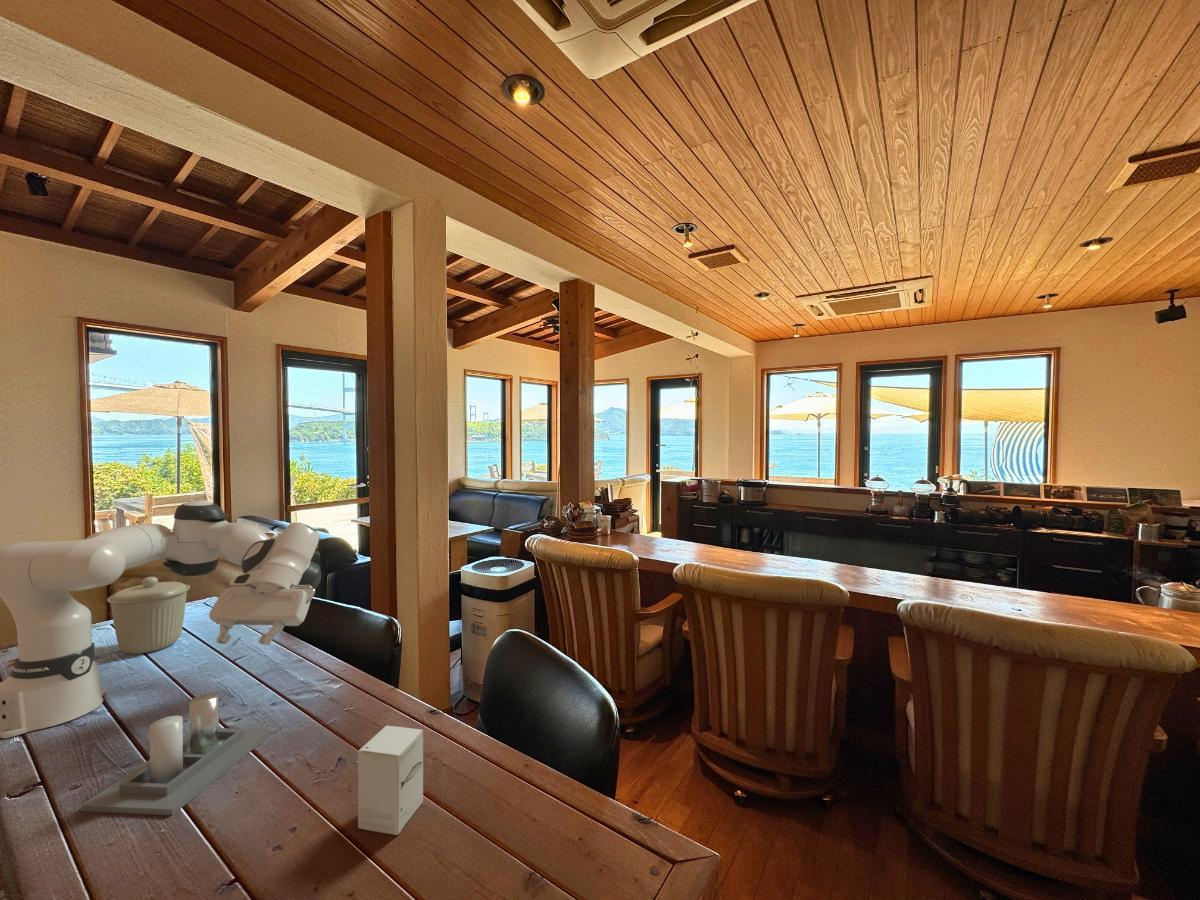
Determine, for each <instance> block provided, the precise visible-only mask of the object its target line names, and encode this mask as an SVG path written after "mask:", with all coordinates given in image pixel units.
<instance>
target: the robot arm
mask: <svg viewBox="0 0 1200 900" xmlns="http://www.w3.org/2000/svg"><path fill="white" fill-rule="evenodd" d="M228 517H229V513H228V512H227V513H225V512H224V510H223V509H222V507H220V506H219V505H218V504H216V503H214V502H211V501H208V500H201V499H200V500H192V501H189V502H185V503H182V504H179V505H178V506H177V507H176V509H175V512H174V515H173V519H174V521H173V526H172V530H171V529H170V528H168V527H167V526H166V525H163V524H159V523H140V524H139V523H137V524H131V525H125V526H120V527H116V528H115V527H114V528H111V529H105V530H102V531H101V530H100V531H96V532H95V533H92V534H90V535H88V537H86V538H84V539H75V540H74V539H73V540H72V539H71V540H56V541H54V540H50V541H47V540H45V541H41V540H40V541H22V542H17V543H11V544H5V545H2V546H0V599H1V600H2V601H3V602H4V604H5V605H6V607H7V608H8V610H9V611H10V613H11V614H10V615H12V618H13V620H14V623H15V626H16V635H17V638H16V639H17V652H18V653H17V654H18V657H17V658H15V659H12V660H9V661H7V662H6V663H7V664H8V665H6V667H7V668H9V667H12V666H13V667H12V669H11V672H10V674H9V676H8V677H7V678H5V679H4V680H2V682H0V738H1V739H8V738H12V737H16V736H19V735H22V734H26V733H29V732H33V731H38V730H41V729H48V728H49V727H54V726H58V725H61V724H64V723H67V722H69V721H72V720H75V719H77V718H80V717H82V716H84V715H86V714H89V713H91V712H93V711H94V710H95V709H97V708H99V706H101V705H102V703H103V702H104V698H103V695H104V694H105V692H106V689H105V688H104V687H101V681H100V675H99V669H98V664H97V662H96V661H94V660H95V659H96V647H95V643H94V642H93V639H92V638H93V635H92V625H93V624H92V613H91V610H90V608H88V607H87V606H86V605H84V604H82V603H80V602H79V601H77V600H76V599H75V598H74V597H73V596H72V594H71V593H70V591H71V592H72V591H85V590H90V589H96V588H100V587H105V586H108V585H111V584H113V583H114V582H116V581H117V580H118V579H119V578H120V577H121V576H122V574H123V573H124V571H126V570H129V569H132V568H136V567H138V566H142V565H144V564H147V563H150V562H152V561H156V560H165V561H163V562H162V565H163V567H165V568H168V569H169V570H170V571H171V572H172V573H174V574H176V575H177V576H180V577H188V578H195V577H196V578H197V577H201V576H205V575H207V574H208V575H209V574H210V573H212V572H214V571H215V570H216V569H217V568H218V567H217V566H218V564H219V562H220V561H219V560H220V557H219V556H220V555H221V557H223V559H225V560H226V561H227V562H230V563H232V564H234V565H236V566H237V565H238V566H241V570H242V573H243V574H240V575H236V576H233V577H232V579H231V580H230V582H229V585H230V587H227V588H226V589H225V590H224V591H223V592H222V593H221V594H220V595H219V598H217V600H216V602H215V603H213V606H212V607H211V610H210V611H209V619H210V620H211V621H212V622H213V623H215V624H217V625H219V634H218V636H217V638H216V643H218V644H220V645H227V644H229V642H230V640H231V638H232V635H230V634H229V633H230V632H229V631H230V630H232V629H233V627H234V626H271V628H270V629H269V630H268V631H266V633H262V634H261V637H260V638H259V639H258V643H259V644H260V645H263V646H264V645H265V646H269V645H270V644H271V643H272V641H273V638H275V637H276V636H277V635H279V633H280V632H282V631H283V630H284V628H285V627H298V626H300V625H301V624H302V623H303V622H305V619H306V616H307V614H308V611H309V608H310V604H311V601H312V599H313V598H314V596H315V593H316V589H317V588H318V586H319V584H320V583H321V578H322V572H321V568H320V565H319V564H318V563H315V562H313V561H311V560H312V558H313V556H314V554H315V552H316V549H317V547H318V544H319V541H320V534H319V532H318V531H317V530H316V529H314V528H313V527H312V526H309V525H308V524H305V523H302V522H291V523H289V524H288V525H287V526H286V527H285V528H284V530H282V532H281V533H280V534H278V535H277V536H276V537H274V538H270V537H269V536H268V535H267V533H265V532H264V530H262V529H261V528H260V527H257V526H256V525H254V524H251V523H247V522H229V521H227V518H228ZM9 663H10V664H9Z"/></svg>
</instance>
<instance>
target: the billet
mask: <svg viewBox="0 0 1200 900" xmlns="http://www.w3.org/2000/svg"><path fill="white" fill-rule="evenodd" d="M188 704H189V707H188V708H189V711H188V712H189V733H190V754H203V755H206V754H208V753H209V752H211V751H212V750H213V749H215V748H216V747H217V746H219V728H220V720H219V718H220V717H219V716H220V715H219V714H220V713H219V711H220V710H219V708H220V707H219V705H220V704H219V694H218V693H216V692H210V693H204V694H201V695H197V696H196V697H193V698H192V699H190V700H189V703H188Z"/></svg>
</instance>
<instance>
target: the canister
mask: <svg viewBox="0 0 1200 900" xmlns="http://www.w3.org/2000/svg"><path fill="white" fill-rule="evenodd" d="M190 589H191V587H190V585H189V584H186V583H185V584H184V583H182V582H181V581H180V582H178V581H160V582H159V579H158V577H156V576H148V577H147V576H146V577H145V578H143V579H142V581H141V584H140V585H135V586H131V587H127V588H124V589H121V590H119V591H117V592H115V593H114V594H113V595H111V596H109V597H108V598H107V600H106V602H107V603H109V604H110V607H111V614H112V615H111V616H112V619H113V620H112V621H113V628H114V632H115V637H116V640H117V646H118V647H119V650H120V651H121V652H123V653H125V654H129V655H138V654H139V655H140V654H146V653H152V652H157V651H159V650H163V649H166V648H168V647H170V646H172V645H174V644H175V643H176V642H178V640H179V639H180V637H181V635H182V631H183V626H184V619H185V610H186V603H187V594H188V591H189V590H190Z"/></svg>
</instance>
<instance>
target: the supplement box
mask: <svg viewBox="0 0 1200 900" xmlns="http://www.w3.org/2000/svg"><path fill="white" fill-rule="evenodd" d="M423 803H424V730H423V729H419V728H411V727H404V726H395V725H385V726H384V727H383V728H382V729H381V730H379V732H377V733H376V734H375V735H374V736H373V737H372V738H371V739H369V740H368V742H366V743H365V744H364V745H363V746H362V747H361V748H360V749H359V750H358V751H357V828H358V829H360V830H366V831H371V832H376V833H381V834H386V835H387V834H389V835H393V836H394V835H395V836H399V834H401V831H403V828H404V827H405V826H406V824H407V823H408V822H409V821H410V820H411V818H412V816H413V815H414V814H415V812H416V811H417V810H418V809H419V808H420V806H421V805H422V804H423Z"/></svg>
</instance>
